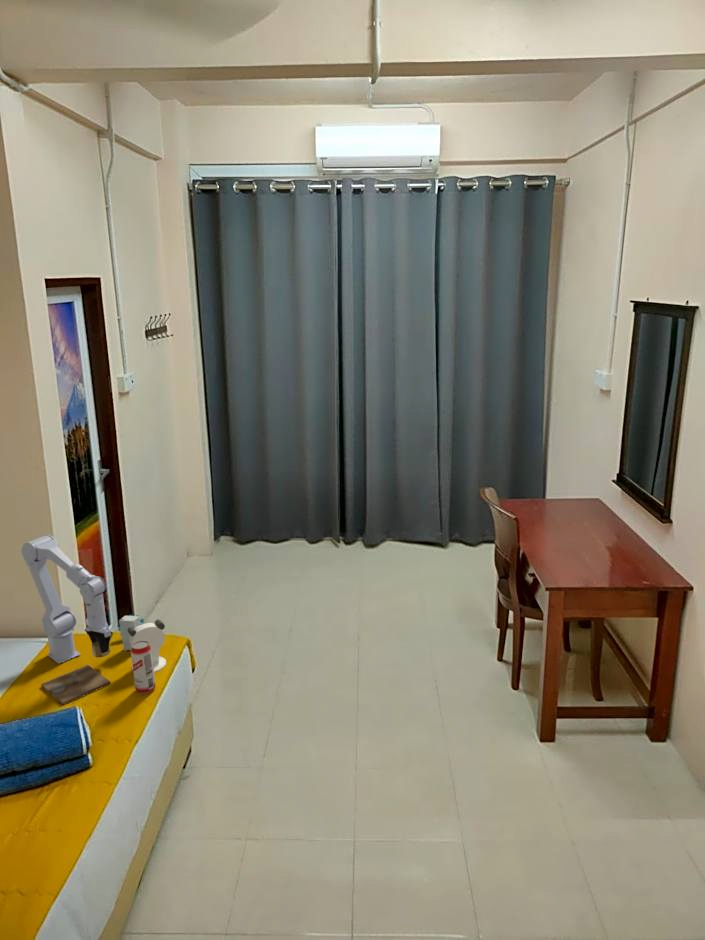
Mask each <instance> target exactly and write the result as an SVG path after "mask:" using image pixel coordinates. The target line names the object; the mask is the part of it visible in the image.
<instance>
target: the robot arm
mask: <svg viewBox="0 0 705 940" xmlns="http://www.w3.org/2000/svg"><path fill="white" fill-rule="evenodd" d="M20 551H21V555H22V557H23V560H24V562H25V564H26V566H27V567H28V570H29V571H30V574H31V576H32V580H33V582H34V583H35V586H36V589H37V592H38V594H39V596H40V599H41V601H42V604H43V606H44V608H45V612H44V614H43V616H42V617H41V621H42V623H43V624H42V626H43V632H44V633H45V635H46V636H47V642H48V648H49V653H47V656H48V657H49V658H50V659H52V660H53V661H54V662H55V663H57V664H62V663H64V662H66V660H67V661H69V660H72V659H74V658H77V657H79V656H81V653H80V652H78V651H77V650H76V645H75V641H74V634H73V631H74V630H75V628H74V627H75V626H76V625H77V617H76V615H75V614H74V613H73V612H72V610H71V608H70V606H67V605H64V604H62V601H61V599H60V597H59V593H58V592H57V589H56V587H55V584H54V583H53V582H54V581H53V579H52V576H51V575H50V571H49V570H48V567H47V561H48V560H50V561H51V562H52V563H54V565H56V566H58V567H59V568H60V569H62V571H64V572H66V575H65V576H66V578H67V579H68V580H69V581H70V582H71V583H73V584H74V585H75V586H76V587H77V588H78V589H79V593H80V596H81V597H82V600H83V602H84V604H85V608H86V615H87V616H86V617H87V618H86V619H85V625H86V626H87V627H85V629H84V632H85V633H86V634H87V635H88V637H89V640H90V642H91V643H92V644H93V642H95V641H98V643H99V646H100V650H101V652H102V653H105V652H108V649H109V647H110V643H111V640H112V637H113V634H114V633H113V632H112V630H111V629H110V627H109V624H108V622H107V617H106V616H107V615H106V611H105V609H106V608H105V602H104V592H105V591H106V588H107V587H106V582H105V581H104V579H103V578H102V577H101V576H97V575H95V574H92V573H90V572H89V571H88V570H87V569H86V568H84V567H83V566H82V565H81V564H79V563H76V564H75V563H74V562H72V560H71V559H70V558H69V557H68V556H67V555H66V553H64V552H63V550H62V549H60V547H59V542H58V540H57V539H55V537H54V536H52V535H51V534H48V533H46V534H45V535H43V536H40V537H38V538H35V539H32V540H31V541H26V542H25V543H24V544H23V545H22V547H21V550H20ZM92 644H91V645H92ZM76 656H77V657H76ZM71 658H72V659H71ZM61 662H62V663H61Z"/></svg>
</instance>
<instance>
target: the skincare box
mask: <svg viewBox="0 0 705 940" xmlns="http://www.w3.org/2000/svg"><path fill="white" fill-rule="evenodd" d="M138 616H139V615H138ZM138 616H136V615H133V616H129V615H124V616H123V617H121V618H120V619H119V620H118V624H120V625H119V627H120V629H121V631H120V636H121V635H122V636H121V641H122V646H123V647H122V648H123V650H124V651H127V650H130V652H131V649H132V646H131V645H130V641H129V639H130V634H129V633H128V628H129V627H133V628H135V627H137V626H139V625H141V624H142V623H141V622H140V620H141V618H140V616H139V617H138Z"/></svg>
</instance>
